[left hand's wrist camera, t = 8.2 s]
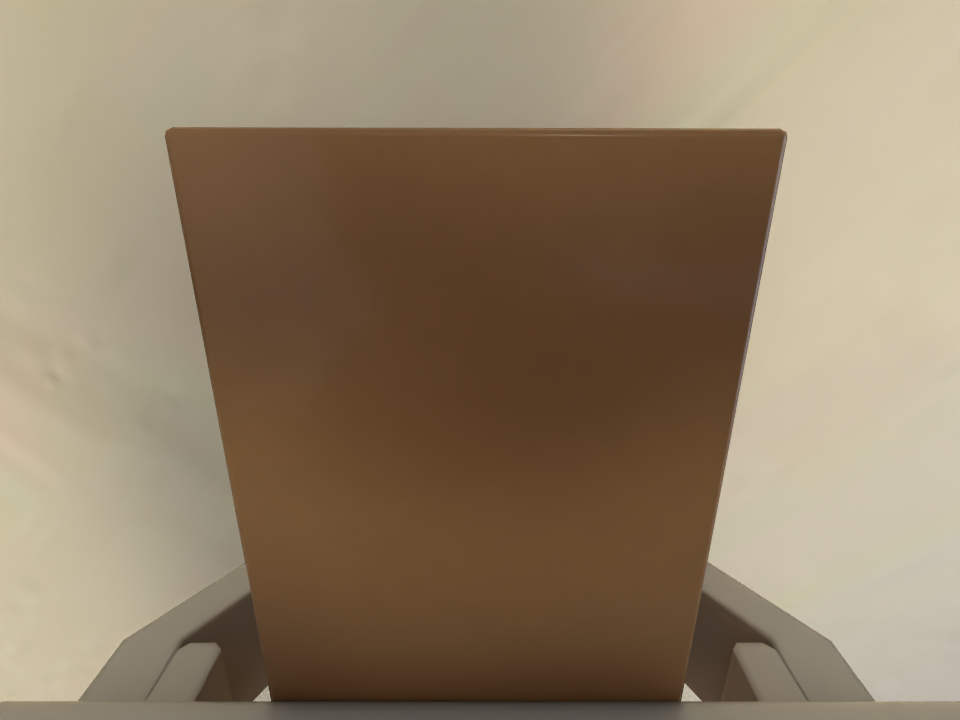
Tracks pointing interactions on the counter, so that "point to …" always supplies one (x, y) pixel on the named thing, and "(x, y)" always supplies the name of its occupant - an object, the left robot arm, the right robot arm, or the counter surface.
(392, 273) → the post
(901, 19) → the counter surface
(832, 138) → the counter surface
